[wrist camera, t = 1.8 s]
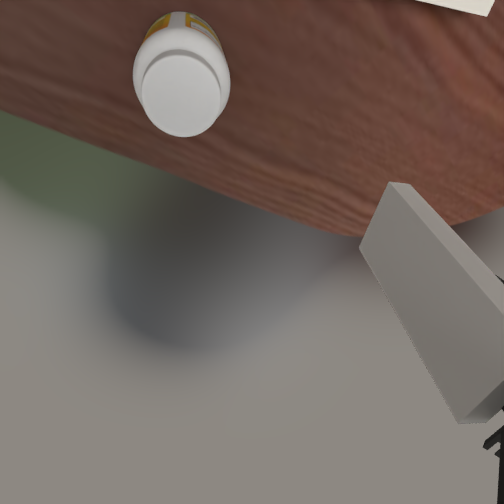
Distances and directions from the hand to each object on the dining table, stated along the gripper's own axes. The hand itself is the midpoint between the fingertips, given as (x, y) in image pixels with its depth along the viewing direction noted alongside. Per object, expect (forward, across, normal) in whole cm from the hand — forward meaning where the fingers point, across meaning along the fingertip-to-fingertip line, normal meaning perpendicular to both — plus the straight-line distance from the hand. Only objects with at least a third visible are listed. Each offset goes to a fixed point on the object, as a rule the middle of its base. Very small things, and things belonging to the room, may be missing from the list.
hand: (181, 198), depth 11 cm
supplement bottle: (+19, 0, 0) cm, 19 cm away
